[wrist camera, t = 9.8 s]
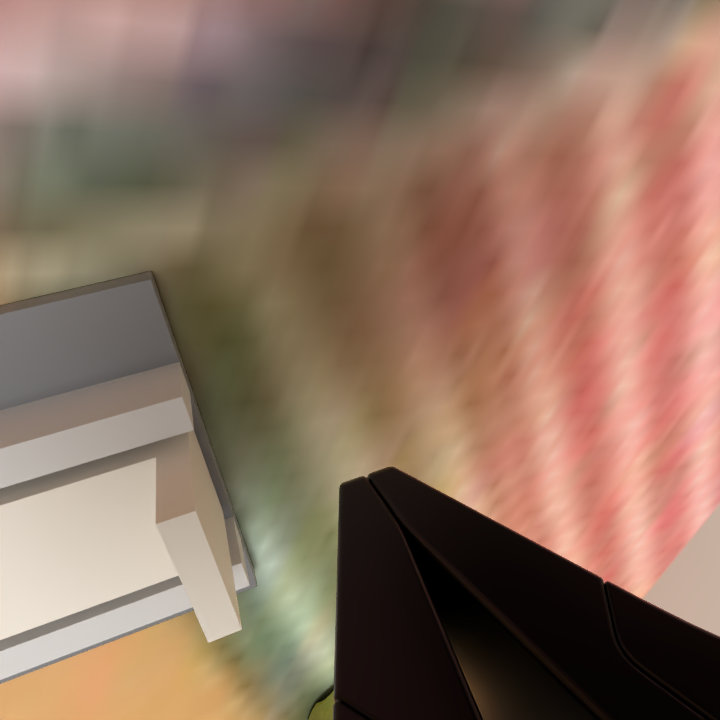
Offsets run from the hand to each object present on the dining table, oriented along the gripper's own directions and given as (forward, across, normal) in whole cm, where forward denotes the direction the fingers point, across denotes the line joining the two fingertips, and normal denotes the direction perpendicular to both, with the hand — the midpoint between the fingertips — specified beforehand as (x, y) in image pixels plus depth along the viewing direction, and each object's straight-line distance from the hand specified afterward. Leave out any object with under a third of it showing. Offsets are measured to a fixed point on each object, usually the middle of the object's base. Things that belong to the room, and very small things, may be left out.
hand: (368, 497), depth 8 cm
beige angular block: (+11, +7, +6) cm, 14 cm away
